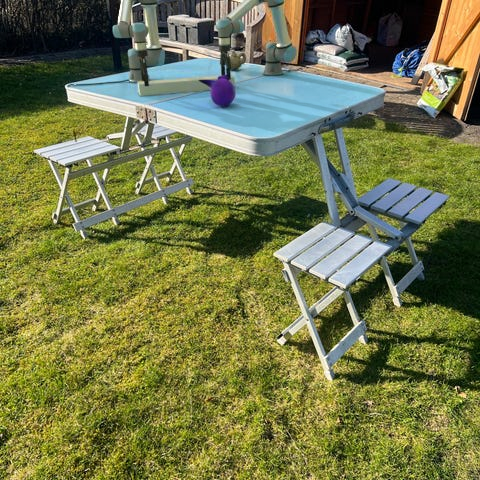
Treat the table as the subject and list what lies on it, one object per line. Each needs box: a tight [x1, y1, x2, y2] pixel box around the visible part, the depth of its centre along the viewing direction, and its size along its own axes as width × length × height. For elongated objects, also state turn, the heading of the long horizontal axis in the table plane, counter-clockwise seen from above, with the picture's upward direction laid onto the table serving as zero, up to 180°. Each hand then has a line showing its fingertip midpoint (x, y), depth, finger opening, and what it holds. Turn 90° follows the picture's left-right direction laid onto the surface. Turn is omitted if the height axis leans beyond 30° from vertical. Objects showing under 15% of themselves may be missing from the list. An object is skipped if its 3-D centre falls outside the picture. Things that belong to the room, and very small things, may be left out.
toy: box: [199, 74, 237, 107], centre depth 269 cm, size 16×18×27 cm
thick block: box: [136, 74, 235, 97], centre depth 306 cm, size 65×10×7 cm, turn 107°
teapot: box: [225, 50, 247, 71], centre depth 368 cm, size 21×12×15 cm, turn 120°
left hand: (145, 83), depth 298 cm, fingers open, 13 cm apart
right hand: (226, 77), depth 312 cm, fingers open, 13 cm apart
